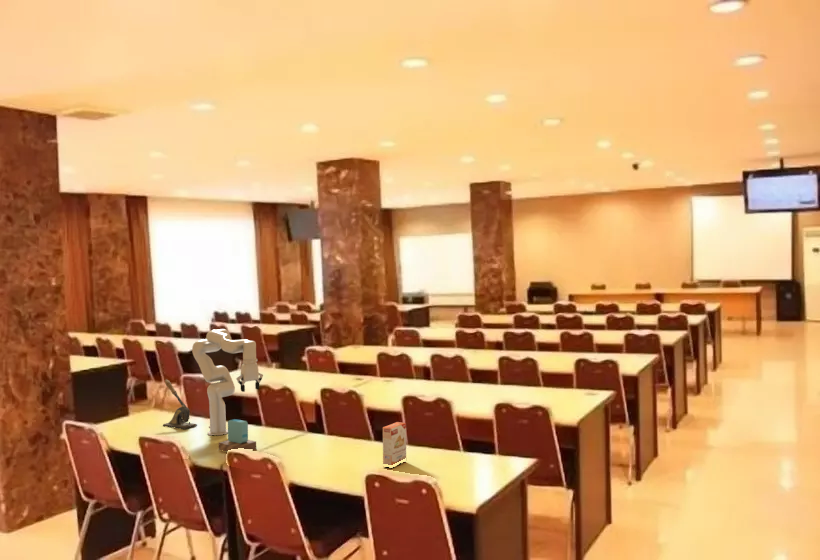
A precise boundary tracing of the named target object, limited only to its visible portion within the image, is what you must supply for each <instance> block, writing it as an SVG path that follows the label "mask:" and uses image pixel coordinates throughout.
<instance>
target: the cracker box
mask: <svg viewBox="0 0 820 560" xmlns="http://www.w3.org/2000/svg"><path fill="white" fill-rule="evenodd" d="M405 458H406V459H407V423H406V422H399V421H396V422H394V423H391V424H389V425H386V426H383V427H382V462H383V463H382V465H383V464H388V465H393V464H395V463H397V462H399V461H401V460H403V459H405Z"/></svg>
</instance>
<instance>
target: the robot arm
mask: <svg viewBox="0 0 820 560" xmlns="http://www.w3.org/2000/svg"><path fill="white" fill-rule="evenodd" d="M191 348H192V349H191V350H192V355H193V358H194V359H195V361H196V363H197V364H198V366H199V369H200V372H201V374H202V376H203V378H204V381H205V382H207V383H210V384H209V385H208V387H207V389H206V391H207V392H206V394H207V397H208V404H209V407H208V408H209V426H208V429H209V430H208V431H207V435H208V436H212V435H217V436H223V434H224V435H228V428H227V421H226V420H227V418H226V414H227V413H226V404H225V401H224V399H223V398H225V397H229V396H232V395H233V394H234V393H235V390H236V387H235V383H234V381H233V378H232V376H231V374H230V372H229V369H228V368H227V367H226V366H225V365H215V364H214V362H213V359H212V358H211V357H210V355H208V354H207V353H214V352H215V353H216V352H218V351H220V350H222V351H223V352H225V353H229V354H238V353H242V359H243V360H242V361H243V362H242V364H241V367H240V375H239V376H238V377H236V378H235V379H236V381H237V383H238V385H240V391H241V392H242V393H245V392H246V389H245V388H246V387H245V386H246V385H245V383H246V382H253V381H255V384H254V386H255V390H260V383H261V381H262V380H263V377H264V374H263V373H260V372H259V367H258V363H257V362H258V361H259V360H258V358H257V343H256V341H255V340H249V339H246V338H244V339H235V340H233V339H232V336H231V334H230V332H229V330H227V329H225V328H220V329H212V330H210V331H208V332H207V333H206V337H205V339H204V338H203V339H199V340H196V341H195V342H194V343H193V344H192V347H191Z"/></svg>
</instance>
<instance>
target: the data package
mask: <svg viewBox="0 0 820 560" xmlns="http://www.w3.org/2000/svg"><path fill="white" fill-rule="evenodd" d="M248 428H249V423H248V421H247V420H241V419H235V418H234V419H230V420H228V421H227V430H228V433H227V440H229V441H230V442H235V443H240V444H241V443H245V442H247V441H248V440H249V429H248Z"/></svg>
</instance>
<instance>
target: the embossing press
mask: <svg viewBox="0 0 820 560" xmlns="http://www.w3.org/2000/svg"><path fill="white" fill-rule="evenodd" d="M164 384H165V385H166V387H167V388H168V389H169V390H170V392H171V394H172V395H173V397H175V398H176V399H177V400H178V402H179V404H180V405H181V406H180V407H178V408H177V409H176V410H175V412H174V414H173V416H172V418H171V419H170V421H169V422H164V423H163V424H162V426H163V427H165V426H168V427H167V428H172V427H175V428H174V429H179V428H181V429H180V430H188V429H191V427H192V428H194V427H197V426H198V424H197V423H191V421H189V420H190V415H191V413H190V411H191V410H190V408H189V407H187V406H186V404H185V403H184V402H183V400H182V399H181V398H180V396H179V395H178V392H177V390H176V389H175V388H174V387H173V384H172V382H171V381H170V380H168V379H165V381H164ZM187 428H188V429H187Z"/></svg>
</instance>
